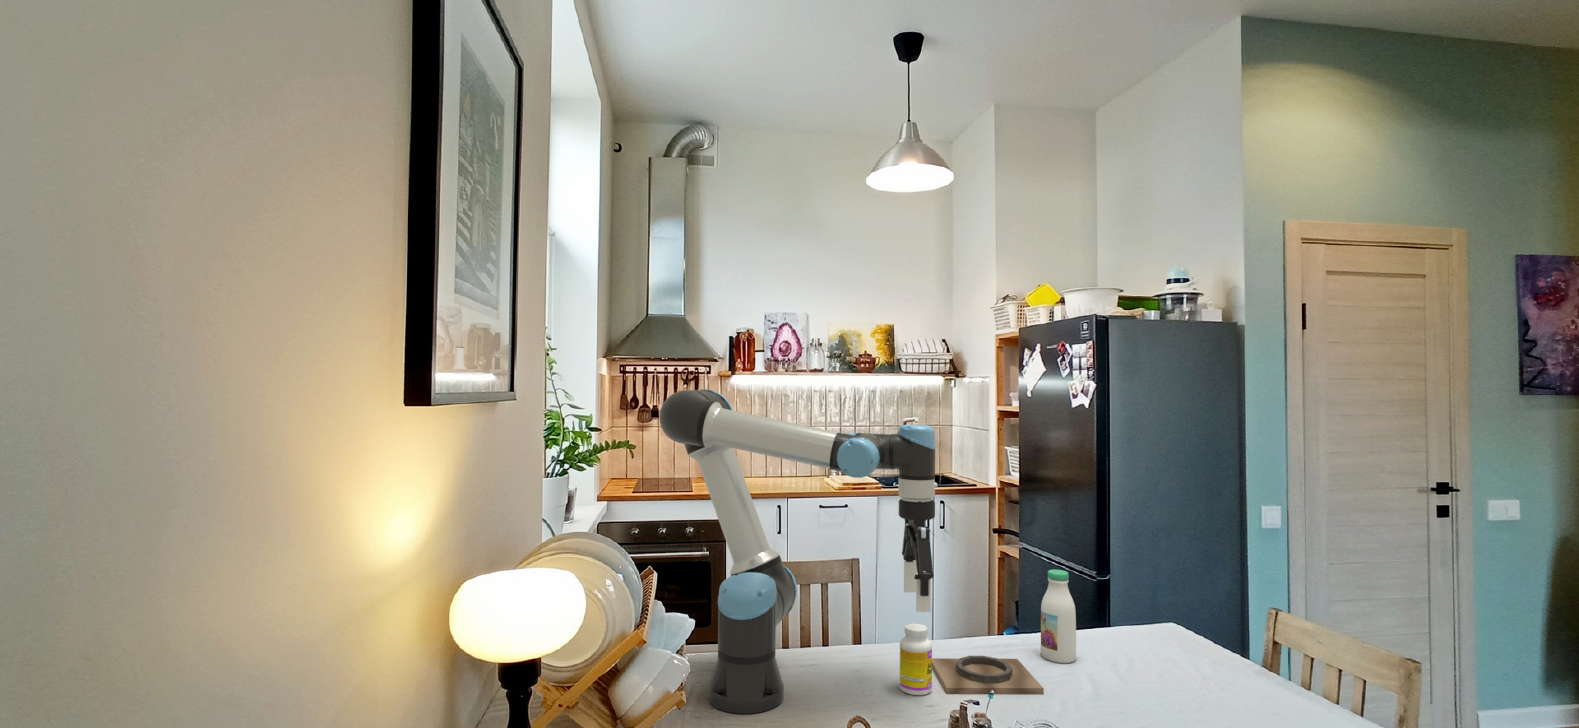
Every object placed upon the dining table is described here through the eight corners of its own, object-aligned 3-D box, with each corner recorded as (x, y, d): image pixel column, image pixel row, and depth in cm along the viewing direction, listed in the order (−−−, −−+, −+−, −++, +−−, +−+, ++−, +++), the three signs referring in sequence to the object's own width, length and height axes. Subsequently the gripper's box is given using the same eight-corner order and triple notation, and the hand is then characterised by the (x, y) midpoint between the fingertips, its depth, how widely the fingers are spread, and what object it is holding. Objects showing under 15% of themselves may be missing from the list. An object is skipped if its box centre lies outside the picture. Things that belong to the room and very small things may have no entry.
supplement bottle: (931, 698, 145) (932, 633, 145) (898, 694, 146) (899, 631, 146) (932, 684, 151) (932, 623, 152) (900, 681, 152) (900, 620, 153)
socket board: (946, 693, 147) (946, 680, 147) (929, 663, 163) (929, 651, 163) (1043, 694, 147) (1043, 680, 147) (1017, 664, 163) (1017, 652, 163)
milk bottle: (1070, 652, 171) (1070, 567, 171) (1080, 664, 163) (1080, 576, 164) (1037, 651, 171) (1037, 566, 172) (1045, 663, 164) (1045, 575, 164)
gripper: (949, 508, 138) (949, 620, 137) (922, 490, 162) (922, 584, 162) (910, 508, 137) (910, 620, 137) (889, 490, 162) (889, 584, 162)
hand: (916, 601), depth 149 cm, fingers open, 13 cm apart
